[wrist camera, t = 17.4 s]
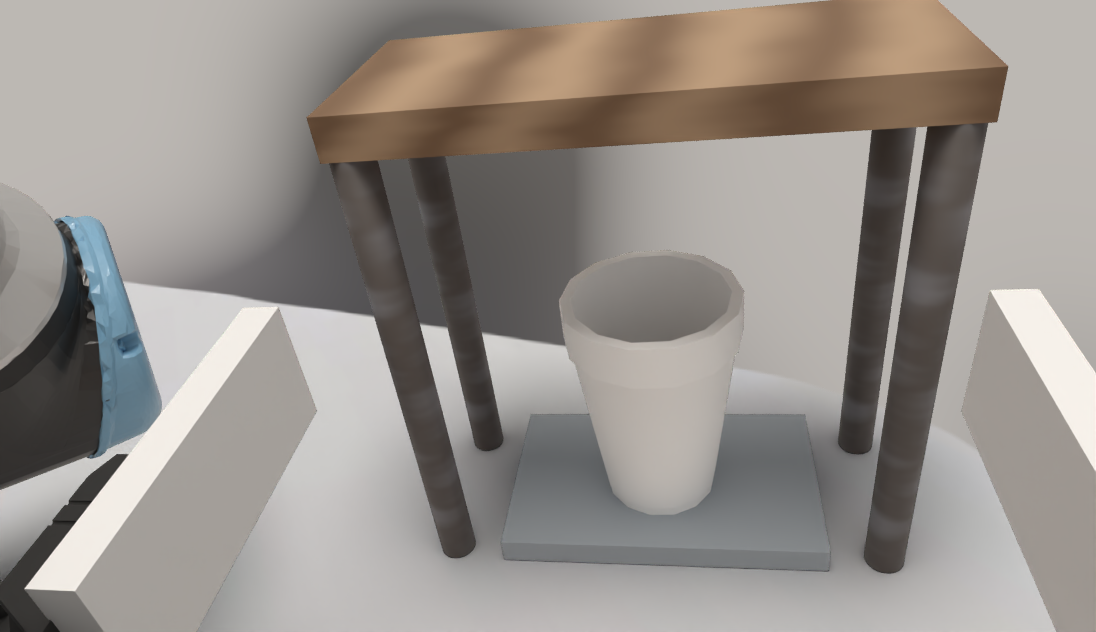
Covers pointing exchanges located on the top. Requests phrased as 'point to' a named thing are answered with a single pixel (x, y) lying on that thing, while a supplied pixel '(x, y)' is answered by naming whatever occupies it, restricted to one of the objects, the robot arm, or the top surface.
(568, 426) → the shelf board
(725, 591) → the top surface
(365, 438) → the top surface
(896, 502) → the wooden top stool
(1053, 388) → the robot arm
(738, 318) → the foam cup
